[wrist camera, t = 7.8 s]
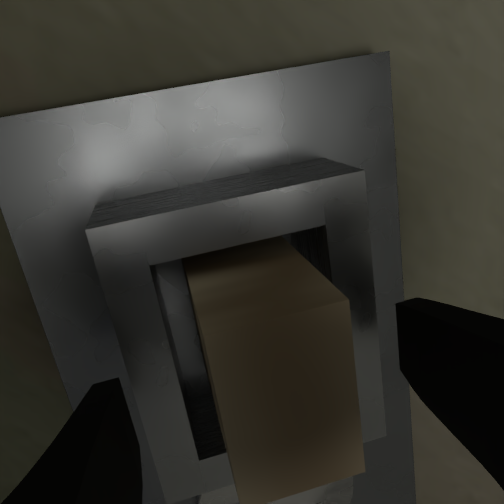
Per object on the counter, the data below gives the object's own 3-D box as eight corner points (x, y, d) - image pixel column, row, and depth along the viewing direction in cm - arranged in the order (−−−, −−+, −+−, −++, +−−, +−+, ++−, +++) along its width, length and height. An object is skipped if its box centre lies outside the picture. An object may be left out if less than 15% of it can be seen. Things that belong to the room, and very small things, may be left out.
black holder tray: (149, 602, 20) (151, 716, 16) (-18, 120, 13) (-79, 129, 10) (405, 513, 22) (460, 597, 18) (373, 54, 15) (450, 38, 11)
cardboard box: (206, 369, 16) (241, 511, 10) (178, 246, 15) (203, 336, 9) (288, 347, 17) (365, 471, 11) (271, 226, 15) (349, 299, 9)
